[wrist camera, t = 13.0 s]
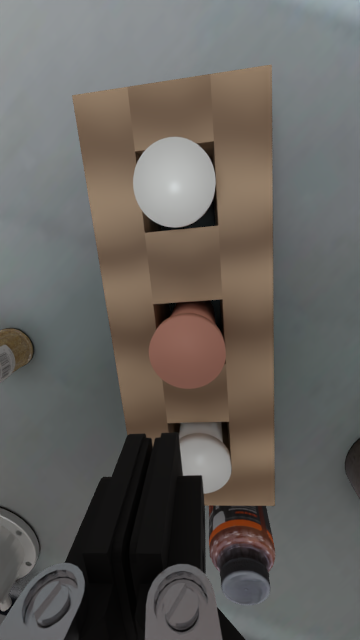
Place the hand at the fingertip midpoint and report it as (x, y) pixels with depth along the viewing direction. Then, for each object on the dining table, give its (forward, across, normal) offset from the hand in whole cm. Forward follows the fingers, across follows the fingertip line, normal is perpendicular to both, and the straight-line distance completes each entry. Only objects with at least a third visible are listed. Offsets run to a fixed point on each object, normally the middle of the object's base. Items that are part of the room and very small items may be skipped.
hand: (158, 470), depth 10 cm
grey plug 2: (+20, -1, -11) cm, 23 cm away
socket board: (+21, -1, -1) cm, 21 cm away
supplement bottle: (+21, -4, +20) cm, 30 cm away
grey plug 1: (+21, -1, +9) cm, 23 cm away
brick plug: (+19, -1, -1) cm, 19 cm away
